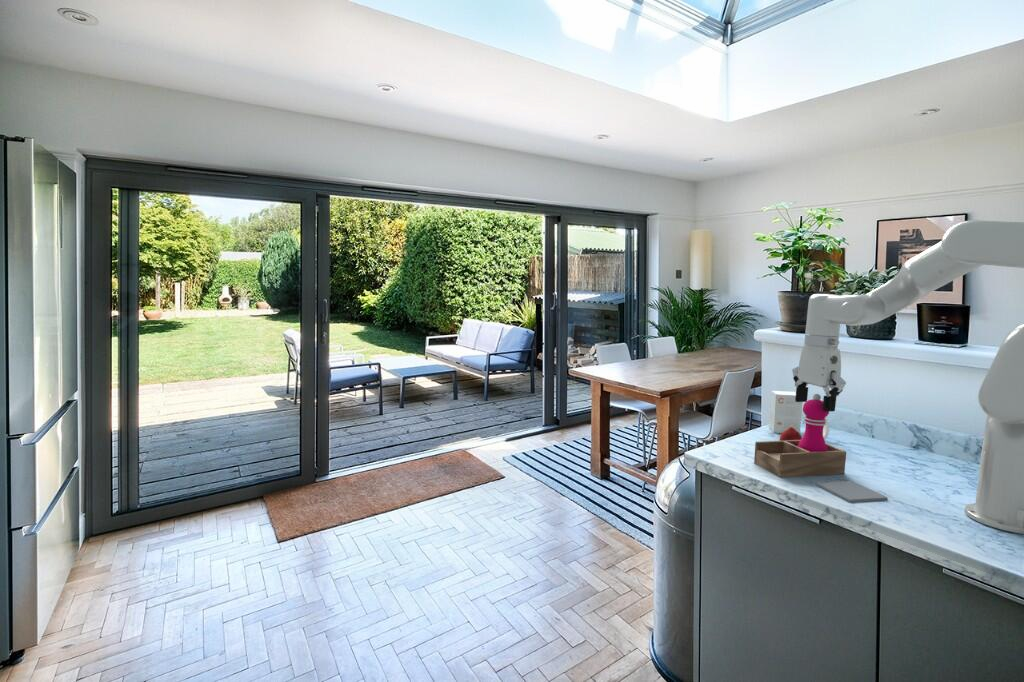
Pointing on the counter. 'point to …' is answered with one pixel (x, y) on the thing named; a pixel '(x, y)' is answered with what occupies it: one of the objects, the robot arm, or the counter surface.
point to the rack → (798, 459)
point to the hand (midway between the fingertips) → (814, 406)
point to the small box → (784, 411)
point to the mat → (851, 491)
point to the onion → (790, 434)
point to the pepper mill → (814, 426)
